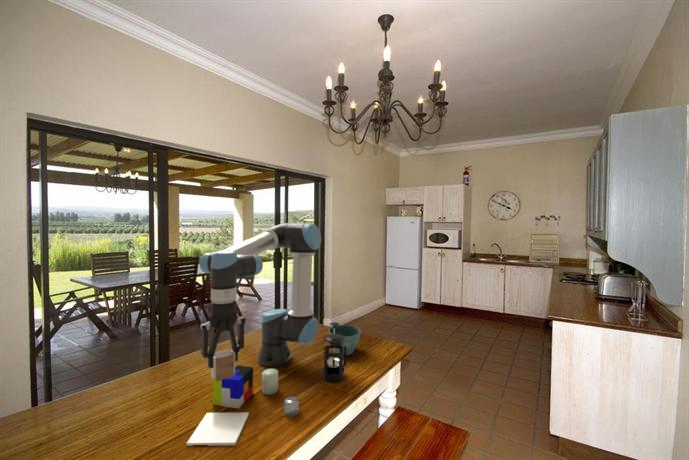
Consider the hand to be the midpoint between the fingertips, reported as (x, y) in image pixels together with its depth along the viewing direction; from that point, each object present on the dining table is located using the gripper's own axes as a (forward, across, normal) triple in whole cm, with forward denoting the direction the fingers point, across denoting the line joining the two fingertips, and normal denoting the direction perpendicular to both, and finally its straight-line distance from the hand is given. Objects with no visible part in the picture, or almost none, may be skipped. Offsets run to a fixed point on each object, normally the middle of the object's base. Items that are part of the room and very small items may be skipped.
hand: (223, 374), depth 96 cm
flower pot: (+17, +66, +21) cm, 72 cm away
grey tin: (+17, +21, -6) cm, 28 cm away
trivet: (+17, -1, 0) cm, 17 cm away
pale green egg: (+17, +21, +11) cm, 29 cm away
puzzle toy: (+17, +8, +14) cm, 24 cm away
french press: (+17, +47, +4) cm, 50 cm away
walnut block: (0, 0, 0) cm, 0 cm away
